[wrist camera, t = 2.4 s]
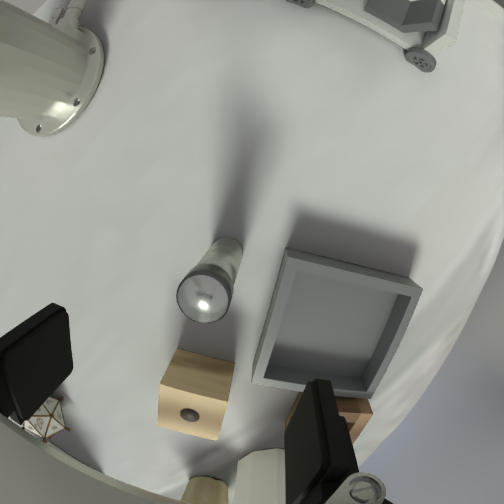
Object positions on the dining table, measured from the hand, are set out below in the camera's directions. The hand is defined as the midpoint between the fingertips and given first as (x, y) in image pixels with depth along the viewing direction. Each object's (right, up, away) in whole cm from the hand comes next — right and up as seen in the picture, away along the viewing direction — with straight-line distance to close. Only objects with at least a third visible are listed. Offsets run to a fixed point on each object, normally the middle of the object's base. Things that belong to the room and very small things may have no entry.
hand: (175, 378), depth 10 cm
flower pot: (-4, -32, +26) cm, 41 cm away
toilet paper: (+6, -26, +24) cm, 35 cm away
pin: (0, +4, +16) cm, 17 cm away
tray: (+10, -2, +17) cm, 20 cm away
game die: (-27, -18, +23) cm, 40 cm away
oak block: (-3, -9, +20) cm, 22 cm away
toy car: (+14, +30, +9) cm, 35 cm away
